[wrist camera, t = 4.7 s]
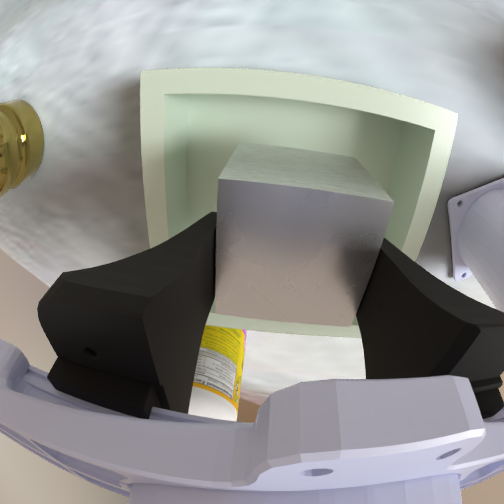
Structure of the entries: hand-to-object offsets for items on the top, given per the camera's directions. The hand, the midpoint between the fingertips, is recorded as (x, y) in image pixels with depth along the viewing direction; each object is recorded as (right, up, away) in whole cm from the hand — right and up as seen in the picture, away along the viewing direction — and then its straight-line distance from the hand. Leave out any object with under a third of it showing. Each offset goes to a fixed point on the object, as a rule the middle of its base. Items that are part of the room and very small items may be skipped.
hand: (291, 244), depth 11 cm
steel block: (0, +2, +2) cm, 3 cm away
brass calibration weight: (-21, +9, +6) cm, 24 cm away
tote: (+1, +3, +8) cm, 8 cm away
